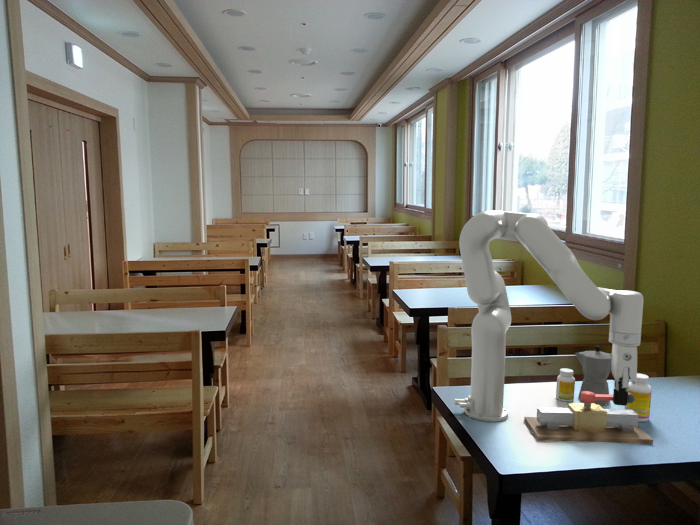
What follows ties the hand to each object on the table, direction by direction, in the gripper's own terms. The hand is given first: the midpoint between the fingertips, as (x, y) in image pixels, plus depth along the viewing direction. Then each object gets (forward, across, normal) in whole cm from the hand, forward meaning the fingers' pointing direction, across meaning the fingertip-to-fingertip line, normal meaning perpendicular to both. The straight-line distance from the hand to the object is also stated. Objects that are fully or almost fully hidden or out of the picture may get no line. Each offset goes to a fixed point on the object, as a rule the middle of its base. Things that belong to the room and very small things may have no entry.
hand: (619, 404), depth 148 cm
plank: (+9, +1, +8) cm, 12 cm away
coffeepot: (+9, +27, +1) cm, 29 cm away
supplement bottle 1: (+9, +26, +11) cm, 30 cm away
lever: (+2, +2, +3) cm, 4 cm away
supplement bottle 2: (+10, +16, -8) cm, 20 cm away
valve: (+9, +1, +8) cm, 12 cm away
